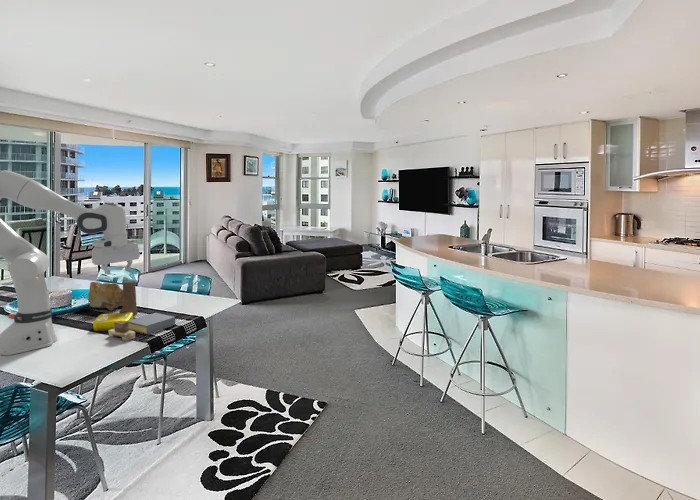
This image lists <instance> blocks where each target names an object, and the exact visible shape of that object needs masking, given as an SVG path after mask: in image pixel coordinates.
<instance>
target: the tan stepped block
mask: <svg viewBox="0 0 700 500" xmlns="http://www.w3.org/2000/svg"><path fill="white" fill-rule="evenodd" d="M107 331H108V336H109V337H110V338H116V337H121V340H122V341H123V342H127V341H130V340H133V339H135V338H136V332H135V331H132V330H129V331H127V332H124V333H120V332H116V331H115V328H114V329H111V330H107Z"/></svg>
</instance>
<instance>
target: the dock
mask: <svg viewBox="0 0 700 500" xmlns="http://www.w3.org/2000/svg"><path fill="white" fill-rule="evenodd" d="M126 322H128V330H130V331H134V332H135V331H136V332H135V333H139V332H140V334H143V333H144V334H145V335H149V334H152V333H155V331H156V332H158V330H159V331H162V330H164V329H167V328H171V327H173V325H174V326H176V316H173V315H167V314H164V313H158V312H154V313H150V314H146V315H143V316H140V317H135V318H133V319H132V320H128V321H126ZM161 329H162V330H161Z"/></svg>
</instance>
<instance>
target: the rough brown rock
mask: <svg viewBox="0 0 700 500" xmlns="http://www.w3.org/2000/svg"><path fill="white" fill-rule="evenodd" d="M87 295H88V299H87V300H88V303H89V302H90V304H89V306H90V307H91V308H94V309H96V308H99V309H102V308H103V309H105V308H106V309H108V310H109V311H113V310H114V309H117V308H118V307H123V304H124V298H123V288H121V287H120V285H119V284H117V283H115V282H113V283H111V282H110V283H109V282H104V283H102V282H98V281H91V282H90V284H89V291H88V294H87Z"/></svg>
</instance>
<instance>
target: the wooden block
mask: <svg viewBox="0 0 700 500" xmlns="http://www.w3.org/2000/svg"><path fill="white" fill-rule="evenodd" d="M122 290H123V298H124V304H123V306H121V307H122V308H121V309H120V310H119V311H118V313H127V312H132V313H133V317H134V316H136V315H137V314H138V312H137V311H138V309H137V308H138V307H137V293H136V291H137V289H136V281H135V280H126V281H125V280H124V281H123V282H122Z"/></svg>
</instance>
